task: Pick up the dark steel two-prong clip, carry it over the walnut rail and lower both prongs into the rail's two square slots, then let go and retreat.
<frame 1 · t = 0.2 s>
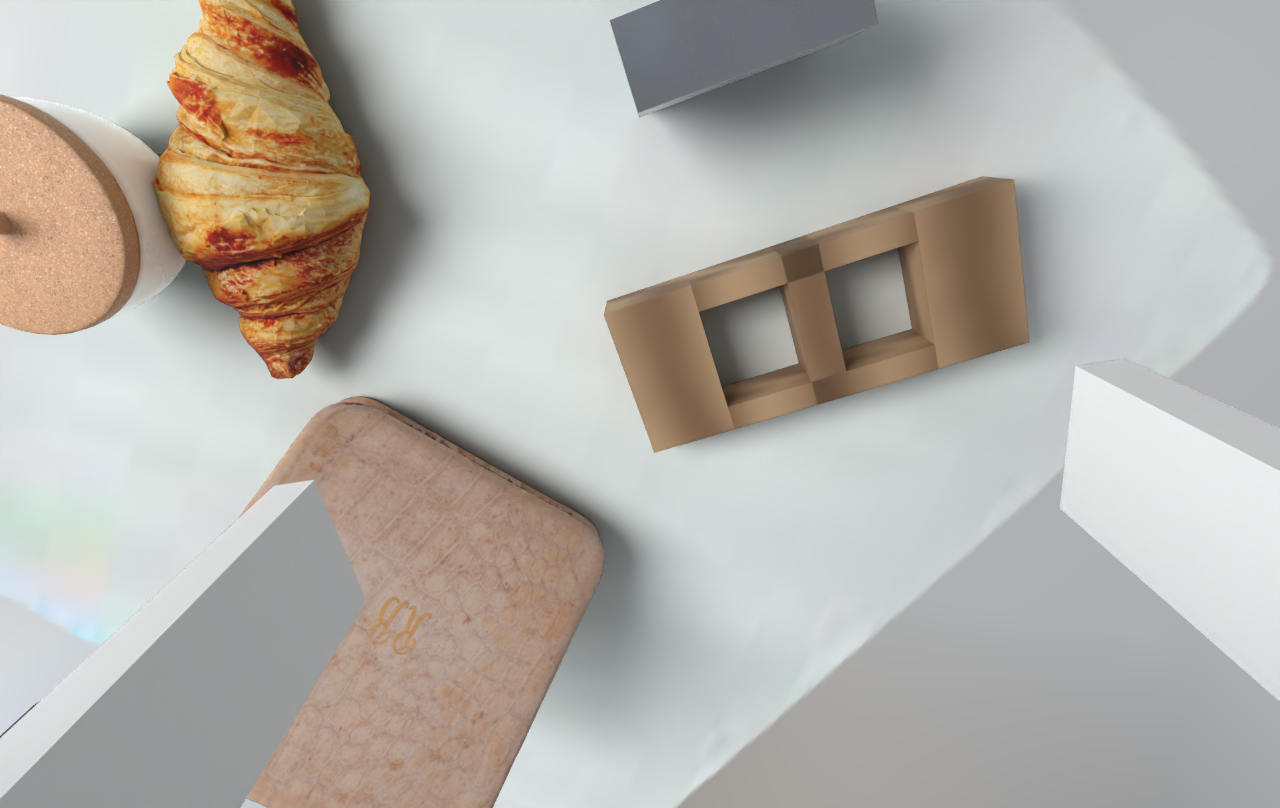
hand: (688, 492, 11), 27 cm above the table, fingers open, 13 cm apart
clip: (720, 49, 32), on the table
case: (424, 554, 45), on the table
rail: (804, 313, 37), on the table
croissant: (299, 185, 35), on the table, touching lidded jar
lidded jar: (139, 203, 35), on the table, touching croissant
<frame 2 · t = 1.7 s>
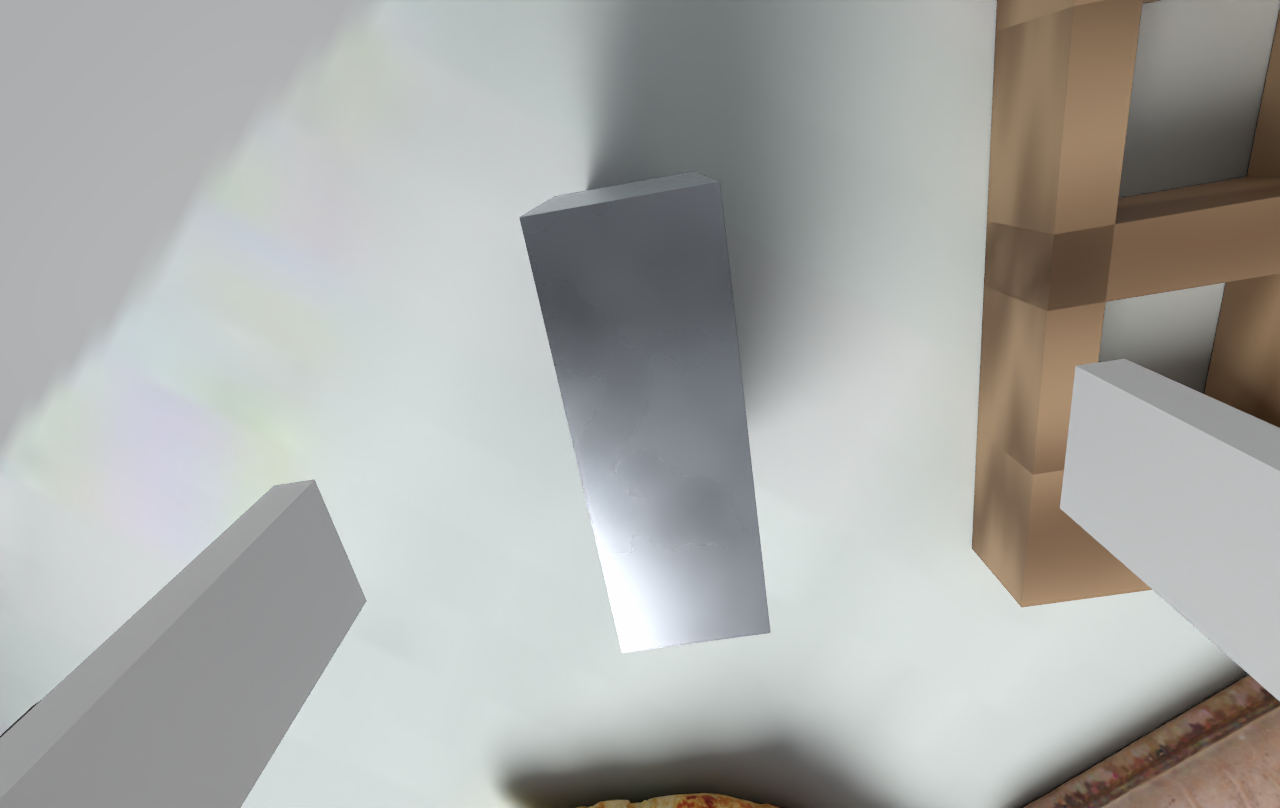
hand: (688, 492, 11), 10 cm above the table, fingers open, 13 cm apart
clip: (652, 340, 20), on the table
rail: (1136, 228, 19), on the table
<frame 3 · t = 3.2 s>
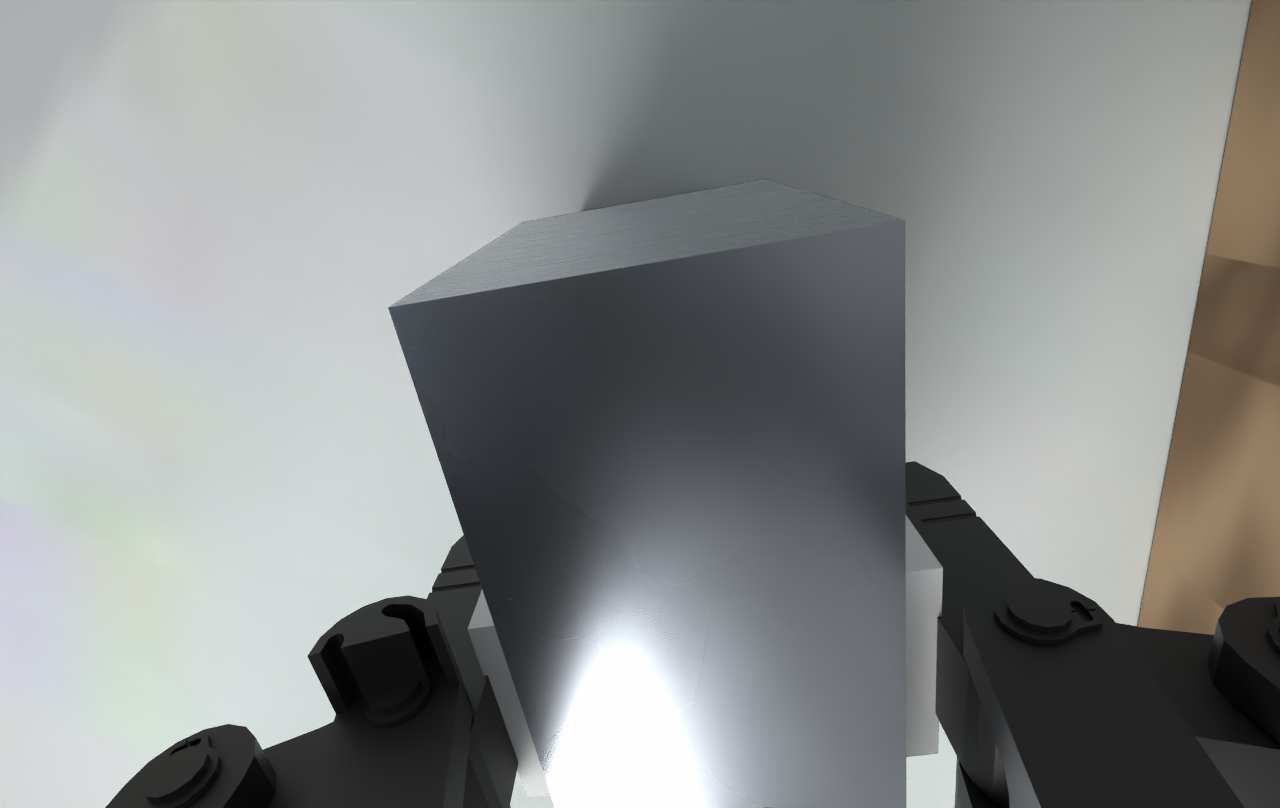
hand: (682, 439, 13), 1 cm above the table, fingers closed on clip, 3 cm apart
clip: (681, 427, 13), on the table, touching gripper
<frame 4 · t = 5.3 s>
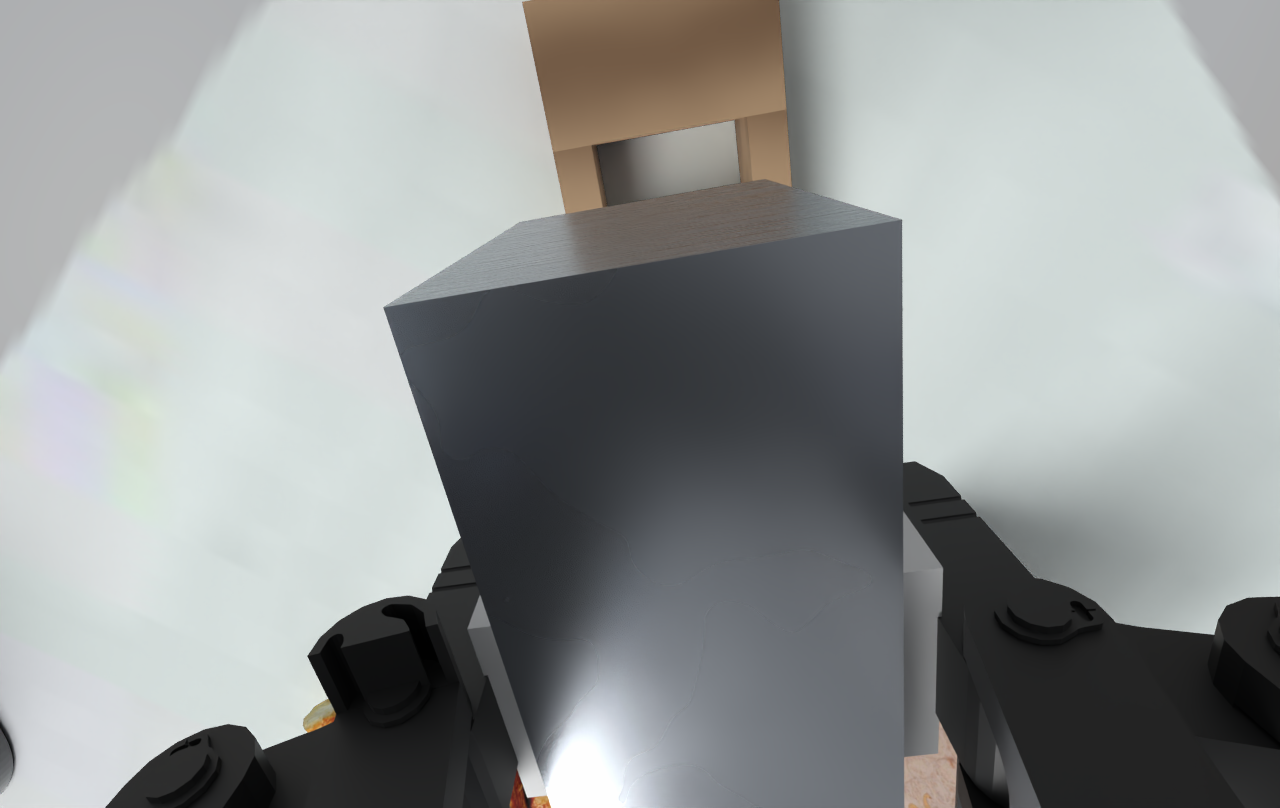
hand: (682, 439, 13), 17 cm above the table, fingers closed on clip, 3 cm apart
clip: (679, 427, 13), point 17 cm above the table, touching gripper
case: (884, 704, 40), on the table
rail: (684, 271, 29), on the table
croissant: (489, 713, 40), on the table, touching lidded jar
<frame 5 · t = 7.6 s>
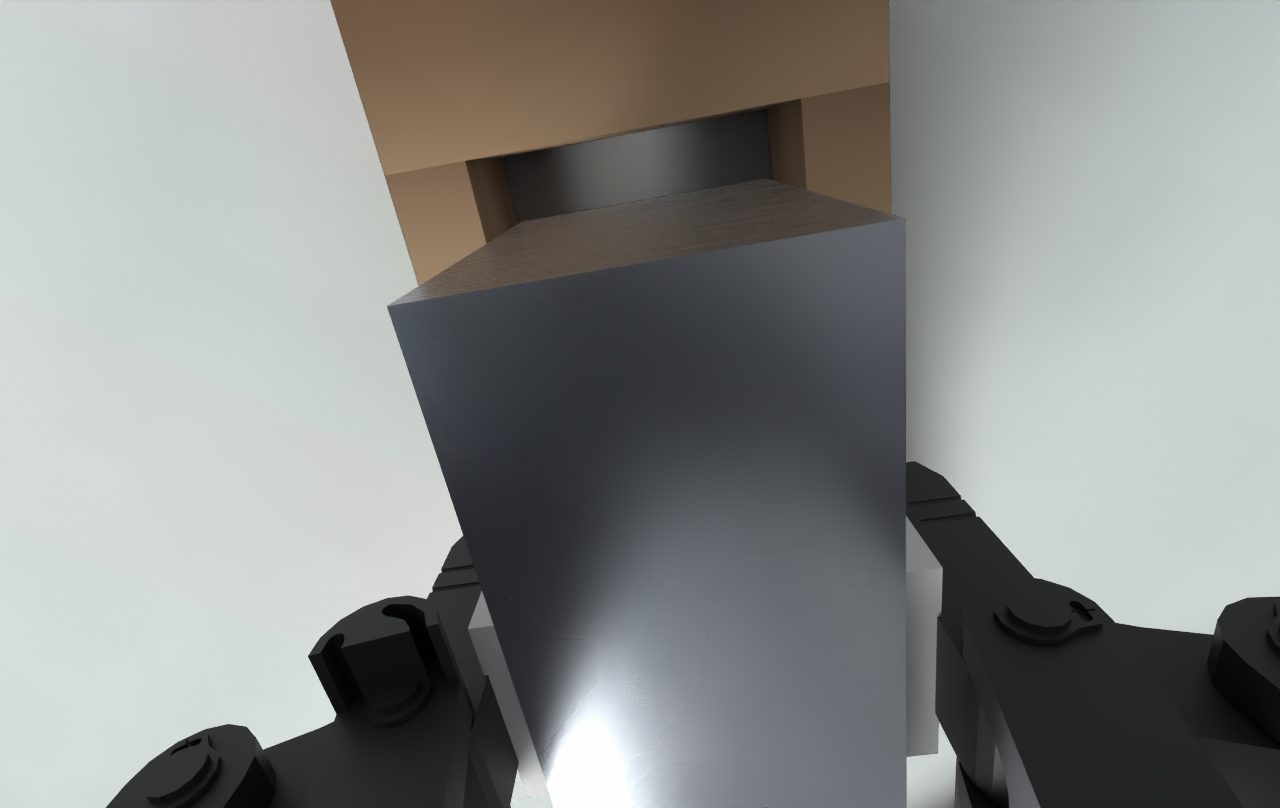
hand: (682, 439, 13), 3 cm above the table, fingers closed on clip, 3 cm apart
clip: (680, 426, 13), point 3 cm above the table, touching gripper
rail: (672, 380, 16), on the table
when the fingers open (3 cm above the table, at t = 7.6 s): clip drops 3 cm, resting on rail.
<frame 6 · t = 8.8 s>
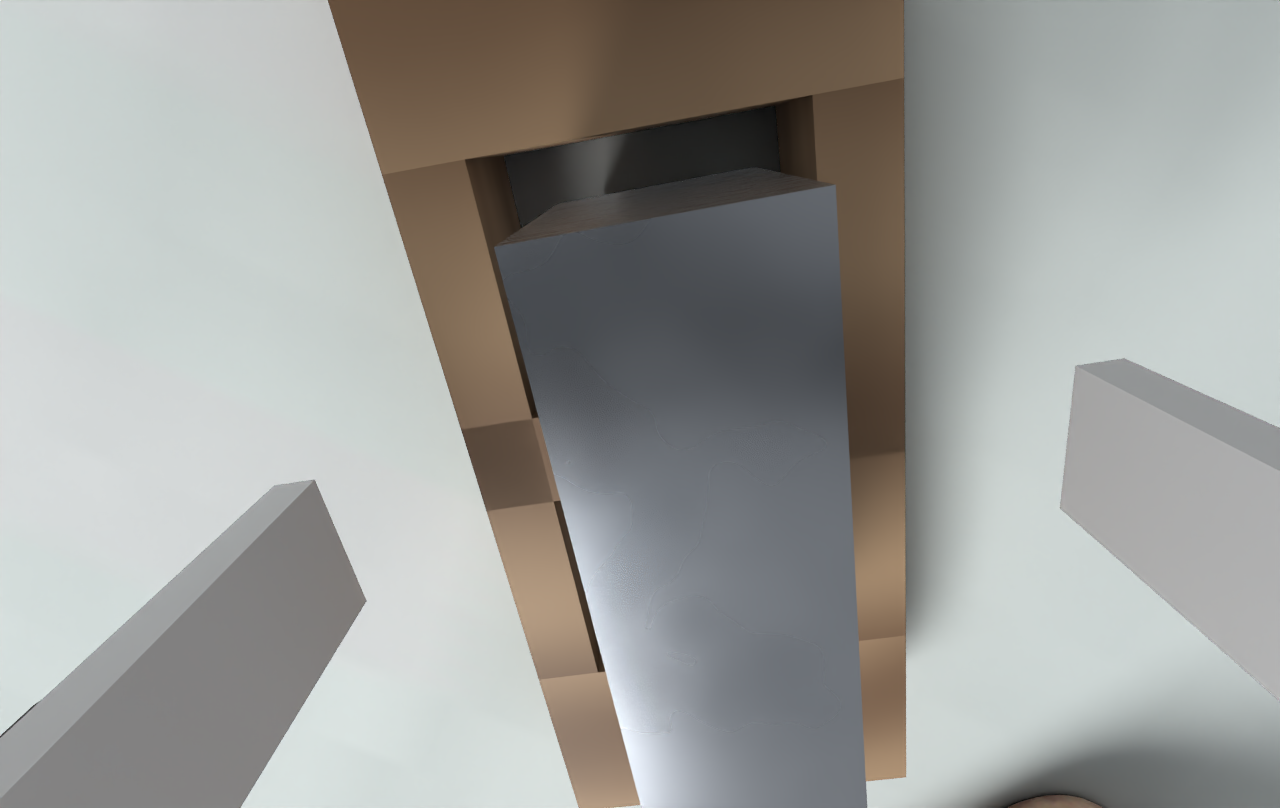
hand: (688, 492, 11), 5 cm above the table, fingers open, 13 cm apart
clip: (685, 385, 16), resting on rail
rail: (676, 384, 16), on the table
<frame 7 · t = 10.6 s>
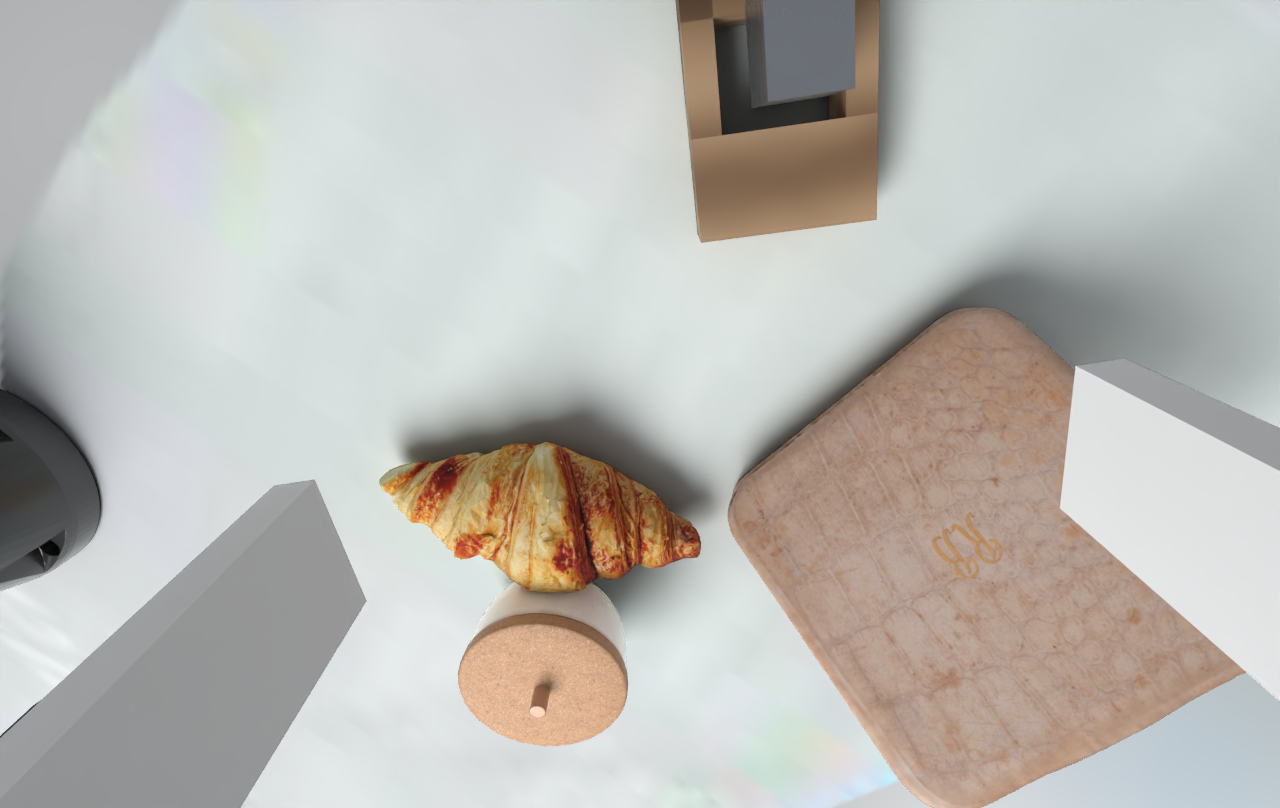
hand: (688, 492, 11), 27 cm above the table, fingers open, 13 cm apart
case: (922, 492, 42), on the table
croissant: (548, 490, 42), on the table, touching lidded jar
lidded jar: (560, 600, 46), on the table, touching croissant
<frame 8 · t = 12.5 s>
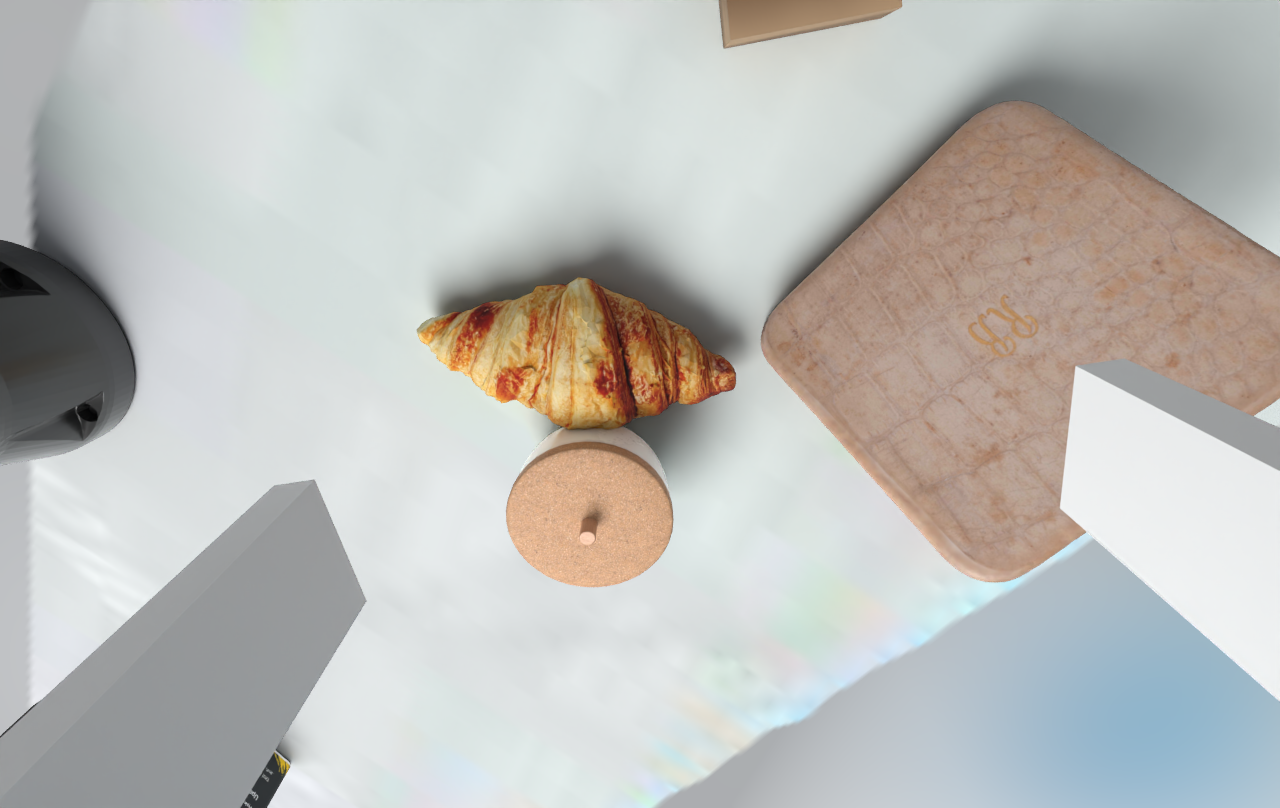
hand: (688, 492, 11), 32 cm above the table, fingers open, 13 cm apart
medicine bottle: (241, 751, 59), on the table
case: (948, 322, 43), on the table
croissant: (581, 340, 43), on the table, touching lidded jar
lidded jar: (597, 460, 47), on the table, touching croissant
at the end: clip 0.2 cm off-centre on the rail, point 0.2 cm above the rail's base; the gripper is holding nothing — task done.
